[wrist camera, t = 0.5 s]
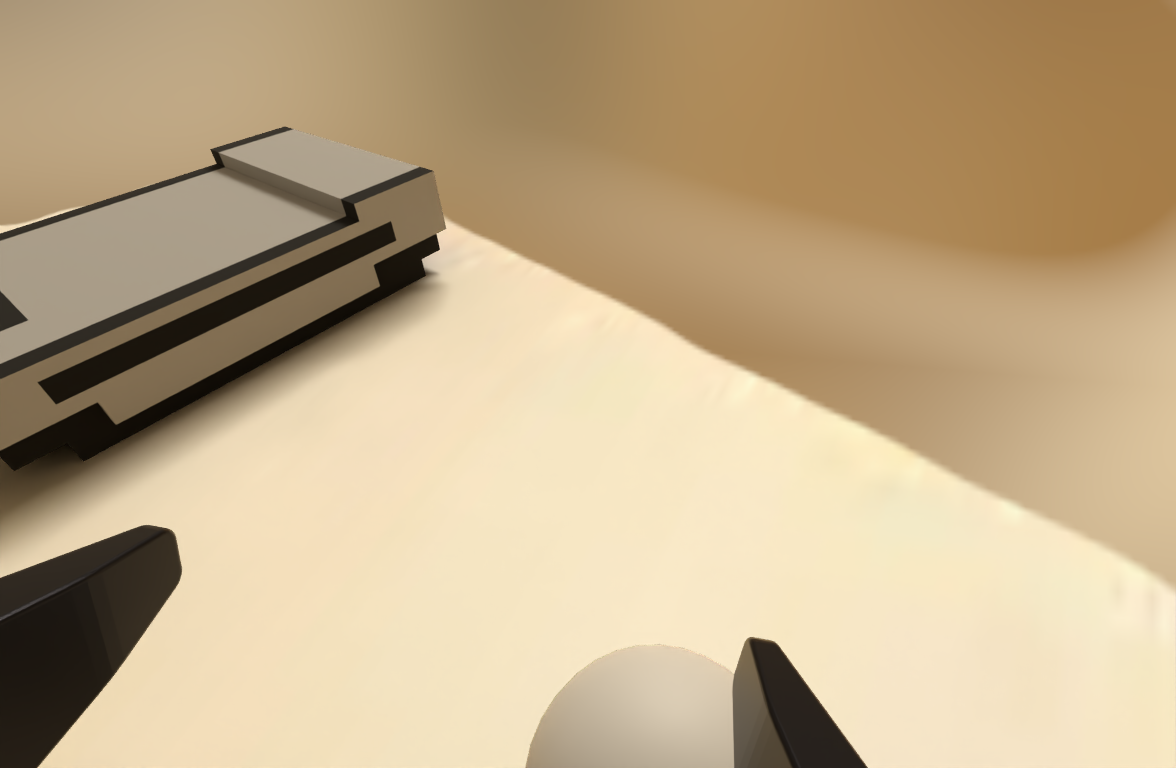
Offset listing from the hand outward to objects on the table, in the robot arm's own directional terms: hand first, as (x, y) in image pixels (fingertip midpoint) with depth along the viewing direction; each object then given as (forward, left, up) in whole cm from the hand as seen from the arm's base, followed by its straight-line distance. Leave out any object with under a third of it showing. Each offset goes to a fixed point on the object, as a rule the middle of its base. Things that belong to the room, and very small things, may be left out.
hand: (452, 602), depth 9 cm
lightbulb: (0, -3, -15) cm, 16 cm away
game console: (+25, +35, -16) cm, 46 cm away
